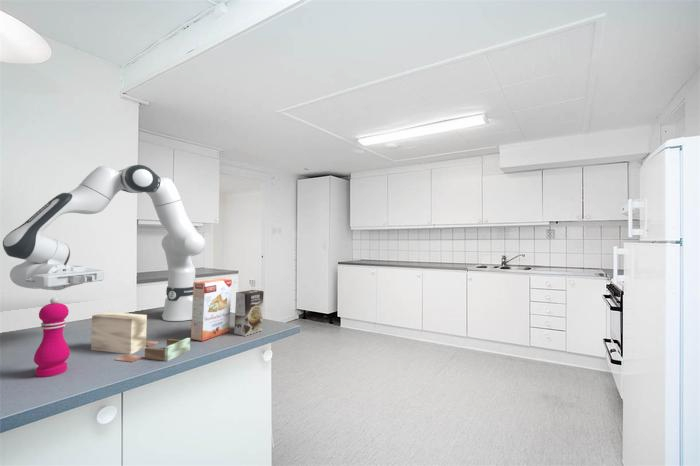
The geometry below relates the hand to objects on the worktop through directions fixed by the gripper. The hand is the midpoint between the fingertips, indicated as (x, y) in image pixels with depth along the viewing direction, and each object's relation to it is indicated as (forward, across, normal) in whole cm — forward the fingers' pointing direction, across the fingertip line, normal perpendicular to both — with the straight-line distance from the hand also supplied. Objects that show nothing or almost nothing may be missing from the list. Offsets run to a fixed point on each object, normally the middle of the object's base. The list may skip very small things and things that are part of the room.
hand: (89, 279), depth 112 cm
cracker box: (+32, +21, +22) cm, 44 cm away
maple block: (+13, 0, +22) cm, 25 cm away
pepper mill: (+12, -20, +22) cm, 32 cm away
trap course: (+25, 0, +22) cm, 33 cm away
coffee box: (+43, +29, +22) cm, 57 cm away
